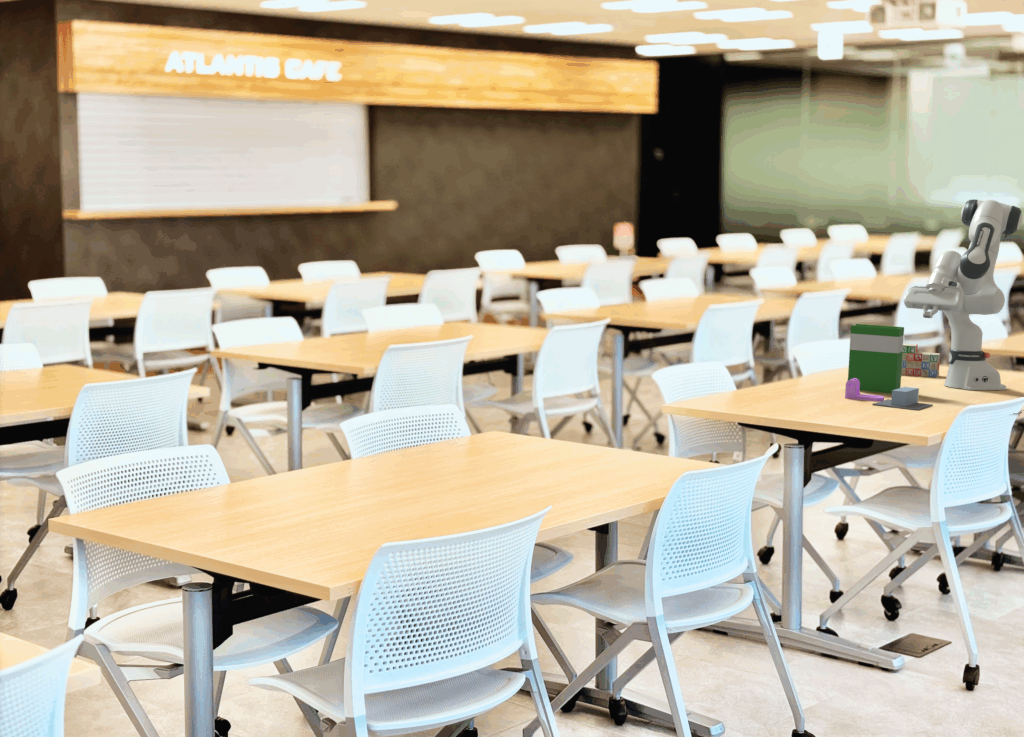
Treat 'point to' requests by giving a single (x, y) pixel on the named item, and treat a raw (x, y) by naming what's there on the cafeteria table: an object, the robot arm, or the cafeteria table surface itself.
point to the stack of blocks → (919, 362)
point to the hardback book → (876, 357)
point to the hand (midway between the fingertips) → (927, 316)
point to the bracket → (854, 390)
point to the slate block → (905, 396)
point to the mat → (912, 407)
